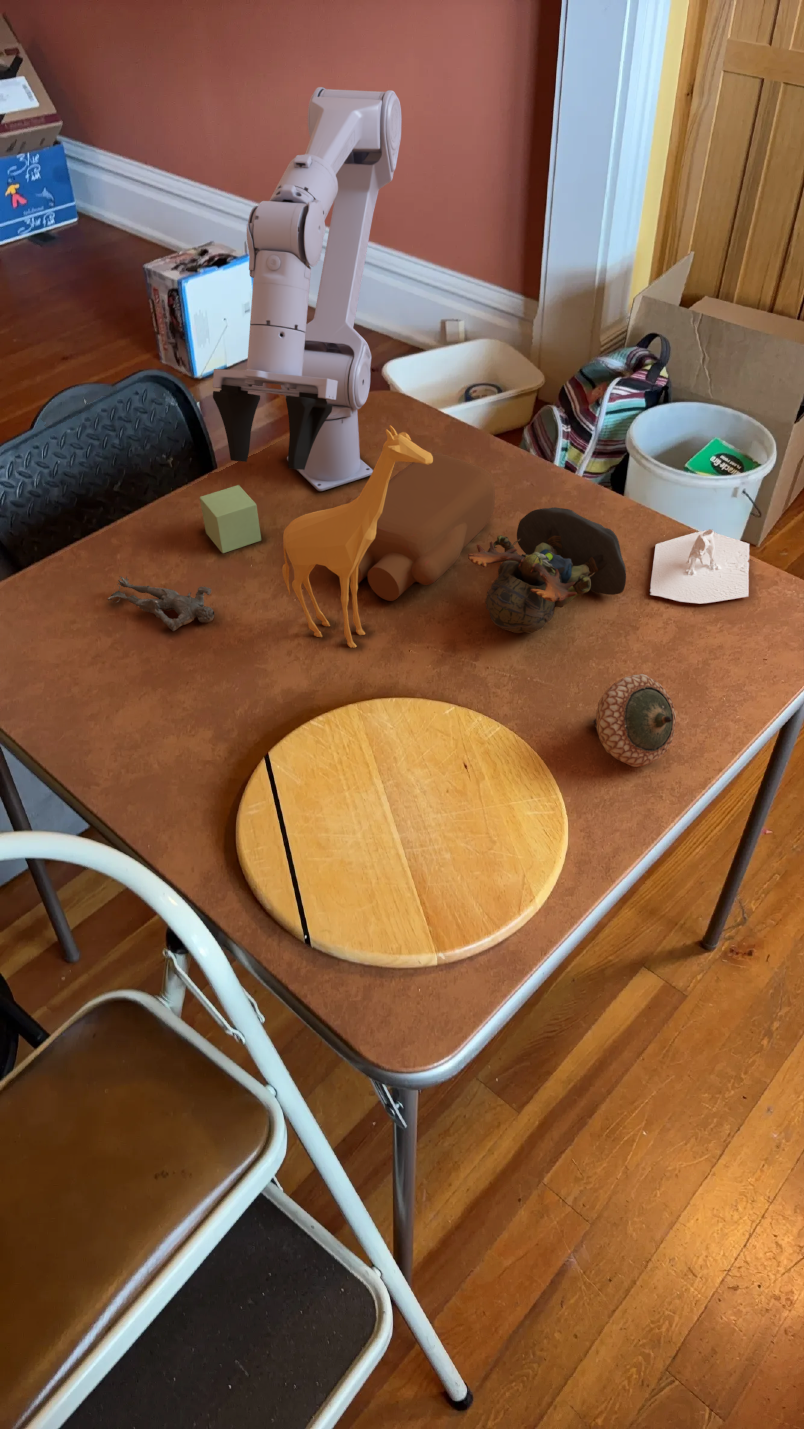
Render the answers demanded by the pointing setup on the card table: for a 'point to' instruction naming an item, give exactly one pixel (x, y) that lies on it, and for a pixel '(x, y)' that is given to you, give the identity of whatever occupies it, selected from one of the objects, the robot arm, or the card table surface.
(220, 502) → the felt cube
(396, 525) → the toy
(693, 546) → the dinosaur figurine
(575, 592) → the figurine
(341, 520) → the giraffe
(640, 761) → the acorn
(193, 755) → the card table surface
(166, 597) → the figurine
